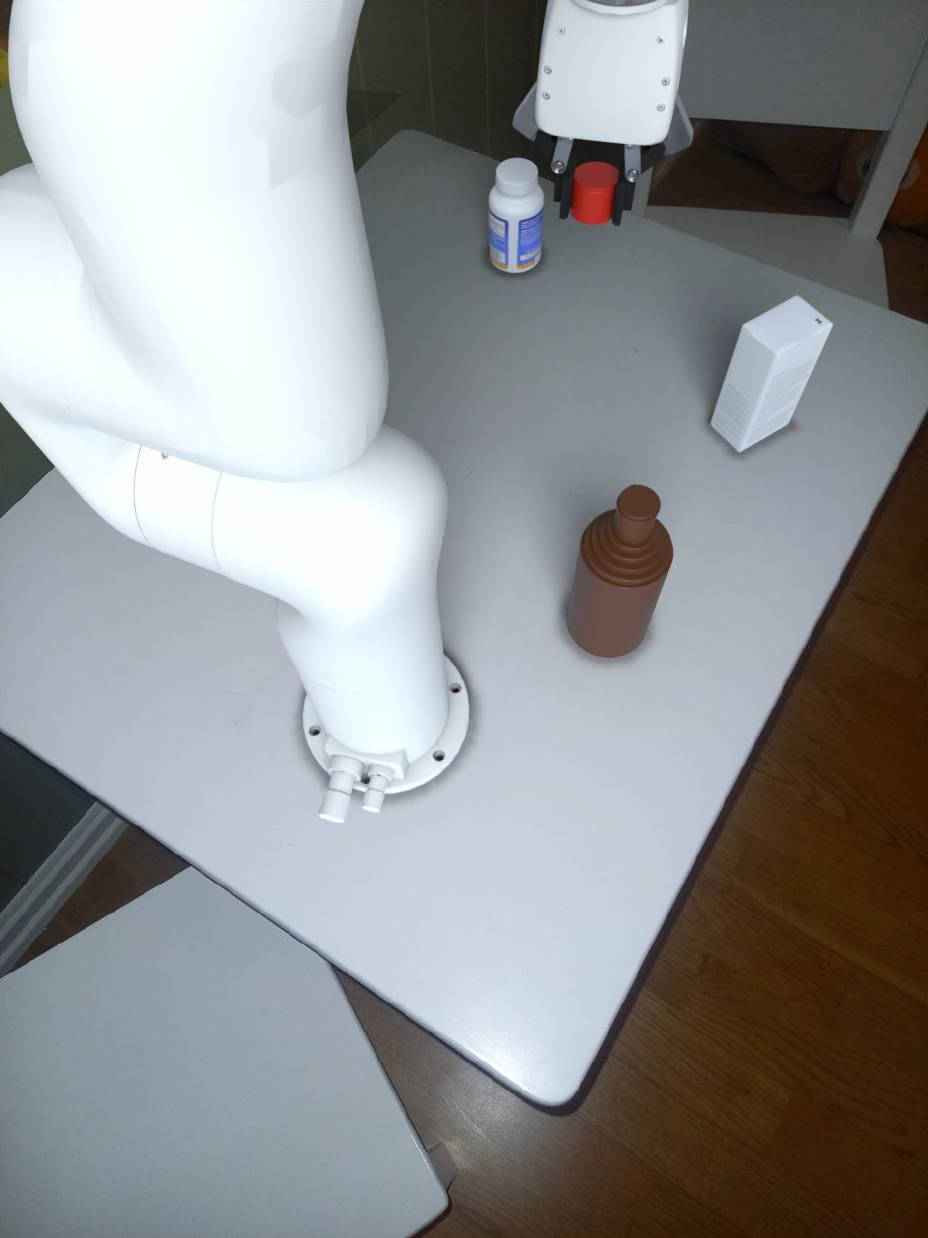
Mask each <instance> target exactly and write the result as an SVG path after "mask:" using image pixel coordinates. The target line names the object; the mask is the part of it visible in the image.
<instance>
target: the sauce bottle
mask: <svg viewBox="0 0 928 1238" xmlns="http://www.w3.org/2000/svg"><path fill="white" fill-rule="evenodd" d="M615 503H616V504H615V506H616V508H612V509H609V510H605V511H604V512H602V513H600V514H598V515H597V516H596V517H595V518H594V519H593V520H592V521H591V522H590V523H588V525H587V526H586V527H585V529H584V531H583V532H582V535H581V538H580V541H579V546H578V553H577V557H576V563H575V570H574V575H573V580H572V587H571V592H570V598H569V603H568V608H567V614H566V625H567V630H568V633H569V635H570V637H571V638H572V640H573V642H574V643H575V644H576V645H577V646H578V647H579V648H581V649H582V650H583V651H585V652H586V653H589V654H590V655H593V656H595V657H600V658H604V659H605V658H607V659H613V658H619V657H623V656H626V655H628V654H630V653H631V652H633V651H635V650H636V649H638V648H639V646H640V645H641V644H642V642H643V640H644V639H645V636H646V634H647V632H648V628H649V626H650V624H651V620H652V617H653V615H654V612H655V611H656V607H657V604H658V601H659V599H660V596H661V593H662V591H663V588H664V586H665V582H666V581H667V577H668V574H669V572H670V569H671V567H672V563H673V560H674V545H673V542H672V539H671V535H670V533H669V531H668V529H667V528H666V527H665V525H664V524H663V523H662V522H661V521H660V520H659V519H658V518H657V516H658V515H659V514H660V511H661V508H662V501H661V498H660V496H659V495H658V493H657V492H656V491H655V490H654V489H653V488H651V487H649V486H647V485H643V484H635V483H634V484H631V485H629V486H628V487H625V488H624V489H623V490H622V491H621V492H620V493H619V495H618V496H617V499H616V501H615Z"/></svg>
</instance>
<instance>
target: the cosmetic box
mask: <svg viewBox="0 0 928 1238" xmlns="http://www.w3.org/2000/svg"><path fill="white" fill-rule="evenodd" d="M833 326H834V323H833V322H832V321H831V320H829V319H828V318H826V316H824V315H823V314H822V313H820V312H819V311H818V310H817V309H816V308H815V307H813V306H812V305H811V304H810V303H809V302H807V300H805V299H803V298H802V296H800V295H798V294H795V295H793V296H791V297H790V298H788V299H786V300H784V301H782V302H781V303H779V304H777V305H775V306H774V307H772V308H770V309H769V310H767V311H765V312H763V313H761V314H760V315H758V316H756V317H754V318H752V319H750V320H748V321H746V322H744V323H743V324H742V325H741V328H740V331H739V335H738V338H737V339H736V340H737V341H736V342H735V346H734V349H733V352H732V355H731V359H730V362H729V365H728V368H727V371H726V373H725V376H724V380H723V383H722V386H721V389H720V391H719V395H718V398H717V401H716V403H715V407H714V410H713V412H712V416H711V419H710V426H711V427H712V428H713V429H714V430H715V431H716V433H718V434H719V435H720V436H721V437H722V438H723V439H724V440H726V442H727V443H728V444H729V445H730V446H731V447H733V449H734V450H735V451H737V452H738V453H742V452H744V451H745V450H747V449H749V448H750V447H752V446H753V445H755V444H757V443H759V442H760V441H762V440H763V439H766V438H768V437H769V436H770V435H773V434H774V433H775V432H778V431H780V430H781V429H783V428H784V427H786V426H788V425H789V424H790V422H791V419H792V417H793V415H794V413H795V411H796V408H797V406H798V404H799V402H800V400H801V398H802V395H803V393H804V391H805V389H806V386H807V384H808V382H809V379H810V377H811V375H812V374H813V373H812V372H813V371H814V369H815V367H816V364H817V362H818V360H819V357H820V355H821V353H822V351H823V349H824V346H825V344H826V342H827V340H828V337H829V335H830V333H831V331H832V328H833Z"/></svg>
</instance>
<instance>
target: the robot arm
mask: <svg viewBox="0 0 928 1238" xmlns="http://www.w3.org/2000/svg"><path fill="white" fill-rule="evenodd" d="M689 1H690V0H547V5H546V9H545V16H544V21H543V27H542V35H541V42H540V51H539V59H538V68H537V76H536V81H535V82H534V84H533V85H532V87H531V88H530V90H529V92H528V93H527V94H526V95H525V97H524V99H523V100H522V102H521V103H520V104H519V106H518V107H517V108H516V110H515V112H514V116H513V118H512V122H511V124H512V127H513V129H514V130H516V131H517V132H519V133H520V134H521V135H523V136H524V137H525V138H527V139H528V140H529V141H533V143H534V145H535V146H536V148H537V149H538V150H539V151H540V153H542V155H543V156H544V157H545V158H546V159H547V161H549V163H550V168H551V171H552V172H553V173H554V181H553V182H554V185H553V196H552V202H554V203H560V204H559V214H558V219H559V220H566V219H568V218H569V216H570V207H571V198H572V188H573V178H574V173H575V169H576V168H577V161H578V155H576V151H574V149H573V145H574V141H575V139H576V140H585V141H593V142H602V143H613V144H621V145H622V144H623V147H624V148H623V149H624V150H623V151H624V153H623V154H624V159H623V160H621V163H620V169H619V178H618V183H617V189H616V196H615V203H614V210H613V217H612V219H611V224H613V226H617V227H620V226H621V222H622V218H623V213H624V211H626V212H627V211H628V212H629V211H630V212H631V211H632V209H633V203H634V197H635V192H636V187H637V186H636V185H637V182H638V181H639V180H640V179H641V175H642V174H645V172H647V171H648V170H650V169H651V168H652V167H654V166H655V165H656V164H658V163H659V162H661V161H662V160H663V159H664V158H665V157H667V156H671V155H673V154H676V153H678V152H681V151H683V150H685V149H687V148H689V147H690V146H691V145H692V143H693V138H694V137H693V136H694V129H693V126H692V123H691V121H690V119H689V116H688V113H687V111H686V109H685V106H684V103H683V101H682V98H681V95H680V94H679V85H680V80H681V74H682V68H683V67H682V66H683V59H684V54H685V45H686V38H687V30H688V19H689ZM364 4H365V0H12V4H11V11H10V19H9V25H8V47H7V48H8V50H7V51H8V53H7V61H8V62H7V63H8V82H9V83H8V84H9V89H10V95H11V103H12V106H13V110H14V114H15V117H16V121H17V125H18V129H19V131H20V134H21V137H22V139H23V142H24V145H25V147H26V149H27V152H28V154H29V156H30V159H31V161H32V162H29V163H26V164H22V165H20V166H18V167H15V168H13V169H11V170H9V171H7V172H5V173H4V174H1V175H0V403H1V404H2V406H3V407H4V409H5V410H6V411H7V412H8V413H9V415H10V416H11V417H12V418H13V419H14V420H15V422H16V423H17V424H18V425H19V426H20V427H21V428H22V430H23V431H24V433H26V434H27V435H28V437H29V438H30V439H31V440H32V442H33V443H35V446H37V447H38V449H39V450H40V451H41V453H42V454H43V455H45V456H46V458H47V459H48V460H49V461H50V462H51V463H52V464H53V466H54V467H55V468H56V469H57V470H58V472H59V473H60V474H61V475H62V476H63V478H65V480H66V481H68V483H69V484H70V485H71V487H72V488H73V489H74V490H75V491H76V493H78V494H79V496H81V498H82V499H83V500H84V501H85V502H86V503H87V504H88V506H90V508H91V509H92V510H93V511H94V512H95V513H96V514H97V515H98V516H99V517H100V518H101V519H103V520H104V521H105V522H106V523H107V524H108V525H110V526H111V527H112V528H114V529H115V530H116V531H118V532H120V534H122V535H124V536H125V537H127V538H129V539H131V540H133V541H135V542H138V543H140V544H142V545H144V546H147V547H148V548H151V549H153V550H156V551H159V552H161V553H163V554H166V555H169V556H171V557H173V558H177V559H179V560H182V561H184V562H187V563H190V564H192V565H195V566H197V567H200V568H202V569H206V570H208V571H211V572H214V573H216V574H219V575H221V576H225V577H227V579H229V580H231V581H234V582H236V583H238V584H241V585H244V586H247V587H250V588H251V589H255V590H257V591H259V592H262V593H264V594H267V595H269V596H272V597H274V598H276V601H275V608H274V609H275V610H274V616H275V625H276V629H277V634H278V636H279V639H280V641H281V643H282V646H283V648H284V651H285V652H286V654H287V656H288V658H289V660H290V661H291V663H292V666H293V668H294V669H295V671H296V674H297V676H298V678H299V680H300V682H301V684H302V686H303V688H304V690H305V696H304V700H303V708H302V725H303V732H304V733H303V734H304V736H305V739H306V742H307V745H308V747H309V750H310V751H311V753H312V755H313V757H314V758H315V759H316V761H317V763H318V764H319V766H320V767H321V768H322V769H323V770H324V771H325V772H326V773H327V774H328V775H329V776H330V779H329V781H328V782H329V783H328V786H327V789H326V790H325V791H324V792H323V796H322V799H321V803H320V806H319V809H318V813H317V816H318V818H321V819H322V820H325V821H327V822H332V823H337V824H345V822H346V819H347V815H348V812H349V808H350V804H351V802H352V801H351V800H352V798H353V797H352V796H351V795H352V793H353V789H354V790H356V791H359V792H363V793H365V794H364V796H363V799H362V803H361V809H363V810H364V811H367V812H370V813H376V814H377V813H378V814H379V813H381V811H382V807H383V803H384V801H385V797H386V795H388V794H389V795H390V794H398V793H401V792H407V791H411V790H413V789H416V788H418V787H421V786H422V785H425V784H427V783H428V782H430V781H432V779H435V777H437V776H439V775H441V773H442V772H443V771H444V770H445V769H446V768H447V767H448V766H449V765H450V764H451V763H452V762H453V760H455V757H457V755H458V754H459V752H460V751H461V748H462V746H463V743H464V741H465V739H466V737H467V733H468V730H469V729H468V728H469V725H470V700H469V699H470V698H469V693H468V690H467V686H466V682H465V680H464V678H463V676H462V674H461V673H460V671H459V669H458V668H457V666H456V665H455V663H453V661H452V660H451V659H450V658H449V657H448V656H447V655H446V654H444V648H443V638H442V637H443V636H442V627H441V618H440V610H439V599H438V587H437V585H438V584H437V583H438V581H437V580H438V566H439V560H440V555H441V550H442V546H443V542H444V541H443V540H444V536H445V531H446V526H447V519H448V513H449V511H448V510H449V495H448V494H449V491H448V484H447V480H446V478H445V477H446V476H445V474H444V471H443V469H442V467H441V465H440V464H439V462H438V460H437V459H436V458H435V457H434V456H433V454H432V453H431V452H429V450H428V449H426V448H425V446H424V445H422V444H421V443H419V442H418V441H417V440H415V439H414V438H413V437H410V436H408V435H407V434H406V433H403V432H402V431H399V430H398V429H397V428H394V427H392V426H390V425H387V424H385V423H383V422H384V418H385V416H386V410H387V402H388V395H389V386H390V374H389V360H388V353H387V350H388V349H387V341H386V335H385V328H384V322H383V316H382V310H381V305H380V300H379V294H378V289H377V283H376V280H375V279H376V278H375V273H374V267H373V262H372V258H371V252H370V248H369V247H370V246H369V242H368V236H367V231H366V226H365V220H364V216H363V215H364V214H363V211H362V210H363V209H362V205H361V199H360V195H359V189H358V184H357V179H356V173H355V167H354V160H353V156H352V146H351V140H350V132H349V124H348V113H347V102H348V101H347V99H348V83H349V68H350V63H351V57H352V53H353V49H354V45H355V39H356V34H357V30H358V26H359V23H360V22H359V21H360V17H361V14H362V10H363V7H364ZM455 690H457V691H458V692H454V691H455ZM316 732H319V733H318V734H315V733H316ZM438 757H440V758H442V760H437V759H438ZM366 780H369V781H368V783H366Z"/></svg>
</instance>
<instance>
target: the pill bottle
mask: <svg viewBox="0 0 928 1238" xmlns="http://www.w3.org/2000/svg"><path fill="white" fill-rule="evenodd" d="M494 183H495V185H494V186H493V187H492V188H491V189H490V191H489V195H488V254H489V260H490V262H491V264H492V265H493V266H494V267H495V268H496V269H498V270H499V271H502V272H506V273H509V274H521V273H525V272H528V271H530V270H532V269H533V268H534V267H535V266H536V265H537V264H538V263H540V260H541V257H542V248H543V245H542V244H543V230H544V229H543V228H544V210H545V209H544V207H545V195H544V191H543V189H542V187H541V185H539V170H538V167H537V165H536V163H534V162H533V161H531V160H529V159H527V158H523V157H511V158H508V159H505V160H503V161H502V162H500V163H499V164H498V166H497V167H496V169H495V180H494Z"/></svg>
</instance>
